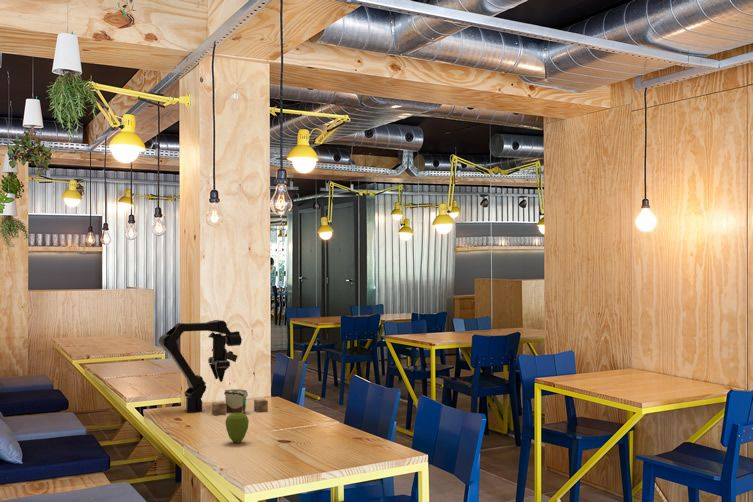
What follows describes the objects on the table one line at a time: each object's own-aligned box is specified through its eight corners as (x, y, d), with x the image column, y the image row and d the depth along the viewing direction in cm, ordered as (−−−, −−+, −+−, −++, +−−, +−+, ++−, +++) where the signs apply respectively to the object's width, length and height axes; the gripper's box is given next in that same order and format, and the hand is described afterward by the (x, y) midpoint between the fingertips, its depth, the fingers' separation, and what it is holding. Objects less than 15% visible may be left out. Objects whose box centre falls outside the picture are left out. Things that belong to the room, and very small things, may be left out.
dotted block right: (257, 412, 325) (257, 401, 325) (254, 410, 329) (254, 399, 329) (267, 411, 327) (267, 400, 327) (264, 409, 331) (264, 398, 332)
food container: (253, 412, 324) (253, 390, 324) (244, 415, 319) (244, 392, 319) (233, 410, 331) (233, 388, 331) (224, 412, 325) (224, 390, 326)
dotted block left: (214, 415, 318) (214, 404, 318) (212, 413, 322) (212, 402, 322) (225, 414, 320) (225, 403, 320) (223, 413, 324) (223, 401, 324)
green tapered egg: (223, 441, 270) (223, 410, 271) (245, 439, 273) (246, 408, 274) (227, 446, 262) (227, 414, 263) (250, 444, 265) (250, 412, 266)
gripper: (241, 348, 331) (240, 381, 330) (231, 344, 348) (231, 376, 347) (216, 349, 326) (216, 383, 326) (208, 345, 343) (208, 378, 342)
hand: (218, 380), depth 335 cm, fingers open, 9 cm apart
